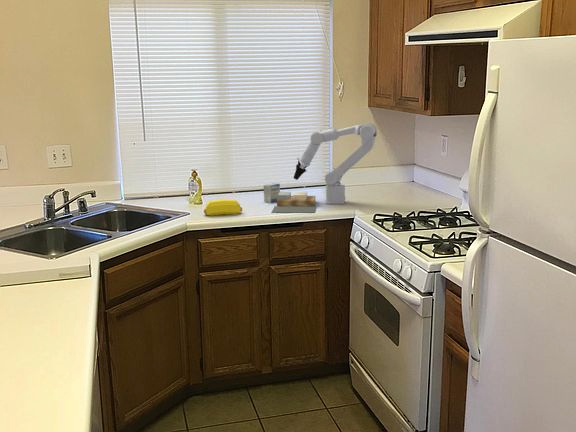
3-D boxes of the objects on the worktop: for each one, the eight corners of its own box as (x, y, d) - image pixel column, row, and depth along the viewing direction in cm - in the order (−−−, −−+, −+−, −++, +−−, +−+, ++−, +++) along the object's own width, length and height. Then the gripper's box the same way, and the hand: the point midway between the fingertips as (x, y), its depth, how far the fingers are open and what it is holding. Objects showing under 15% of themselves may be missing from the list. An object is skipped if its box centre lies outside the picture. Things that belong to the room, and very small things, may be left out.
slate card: (290, 196, 322) (290, 191, 322) (289, 199, 313) (289, 195, 313) (279, 196, 323) (279, 191, 322) (277, 199, 314) (277, 195, 313)
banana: (203, 213, 300) (204, 217, 293) (202, 199, 299) (203, 202, 291) (241, 211, 304) (243, 214, 296) (241, 197, 302) (243, 200, 295)
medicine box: (270, 202, 322) (270, 185, 320) (263, 201, 325) (263, 184, 323) (280, 200, 328) (280, 183, 326) (273, 199, 331) (273, 182, 329)
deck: (315, 201, 323) (315, 195, 322) (314, 206, 311) (314, 200, 310) (279, 201, 324) (279, 195, 324) (276, 206, 313) (276, 200, 312)
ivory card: (307, 196, 321) (307, 191, 321) (306, 199, 313) (306, 195, 312) (295, 196, 322) (295, 191, 321) (293, 199, 313) (293, 195, 313)
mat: (316, 206, 310) (316, 206, 310) (314, 212, 297) (314, 212, 297) (274, 206, 312) (274, 206, 312) (271, 212, 299) (271, 212, 299)
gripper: (303, 146, 325) (290, 169, 330) (300, 153, 312) (287, 177, 316) (315, 153, 326) (302, 175, 330) (313, 160, 312) (299, 183, 317)
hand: (296, 176), depth 323 cm, fingers open, 7 cm apart
